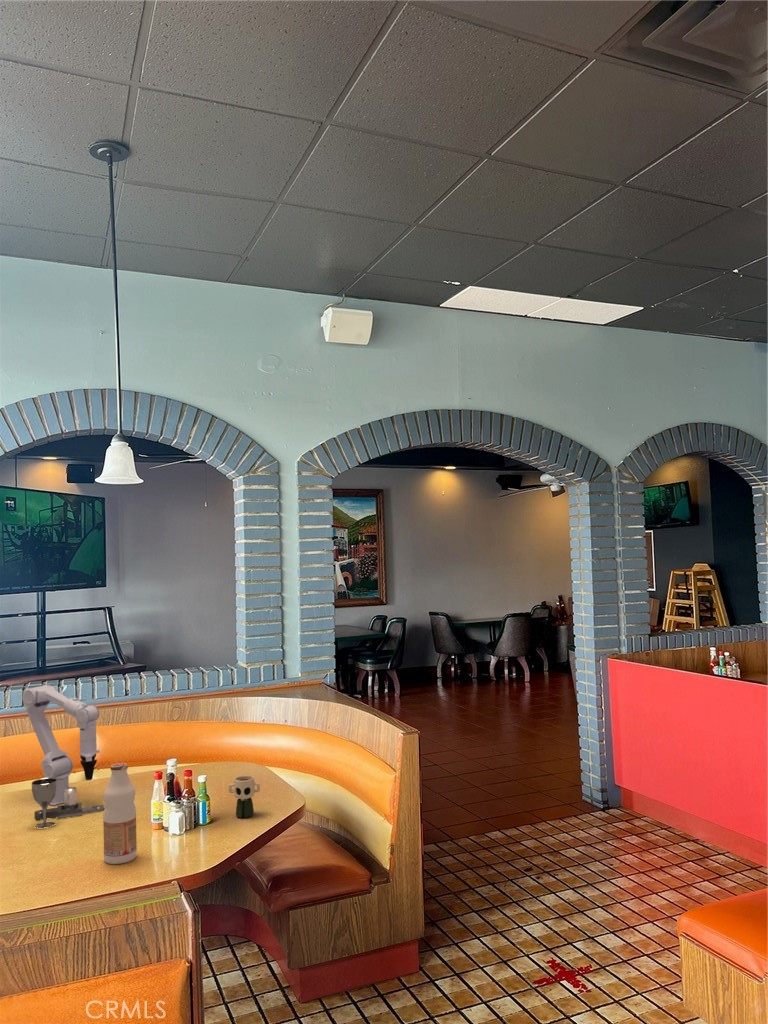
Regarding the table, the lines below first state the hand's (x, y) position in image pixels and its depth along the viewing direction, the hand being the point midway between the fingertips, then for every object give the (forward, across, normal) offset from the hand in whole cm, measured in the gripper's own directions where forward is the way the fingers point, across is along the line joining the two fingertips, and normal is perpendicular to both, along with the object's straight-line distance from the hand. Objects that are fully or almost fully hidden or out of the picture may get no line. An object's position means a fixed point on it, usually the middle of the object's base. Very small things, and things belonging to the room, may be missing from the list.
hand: (88, 776), depth 286 cm
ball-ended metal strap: (+10, -7, +7) cm, 14 cm away
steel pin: (+10, -7, +6) cm, 14 cm away
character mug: (+11, -38, -50) cm, 64 cm away
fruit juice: (+11, -59, -8) cm, 61 cm away
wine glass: (+11, -16, +15) cm, 24 cm away
